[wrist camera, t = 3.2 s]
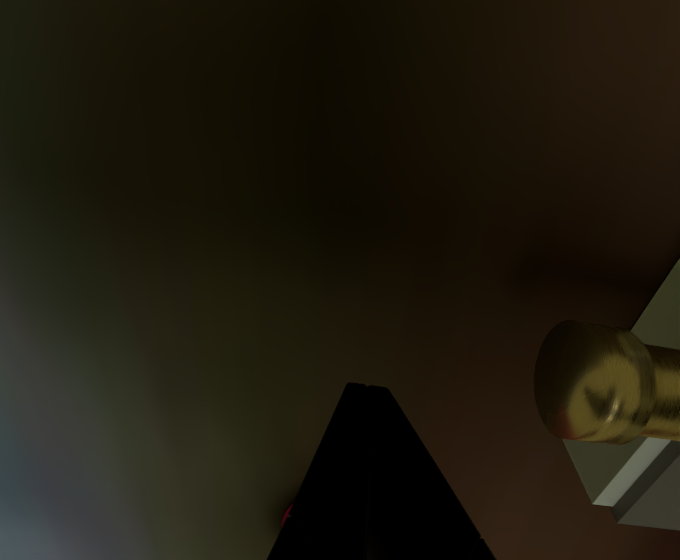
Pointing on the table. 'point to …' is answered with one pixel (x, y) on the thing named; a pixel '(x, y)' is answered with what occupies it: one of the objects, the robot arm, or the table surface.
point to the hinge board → (639, 440)
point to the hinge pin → (606, 385)
